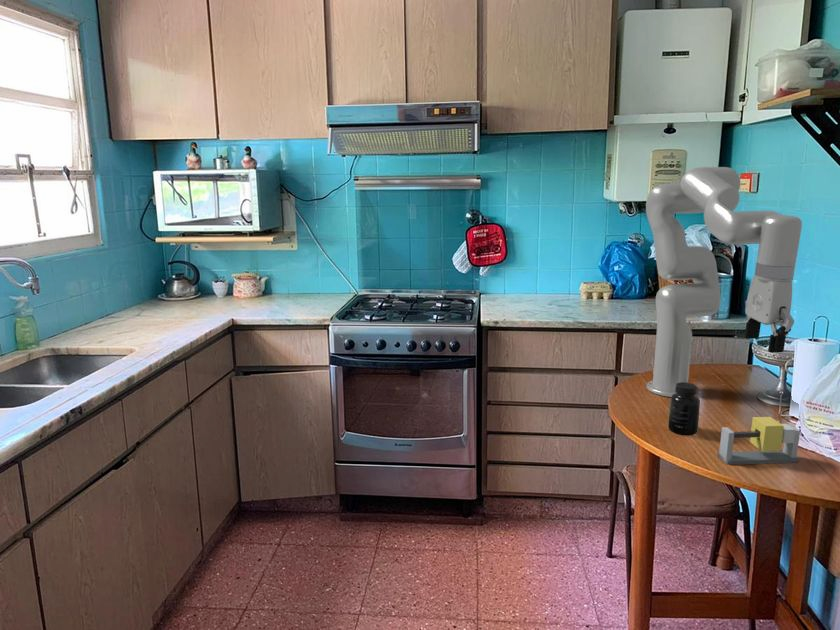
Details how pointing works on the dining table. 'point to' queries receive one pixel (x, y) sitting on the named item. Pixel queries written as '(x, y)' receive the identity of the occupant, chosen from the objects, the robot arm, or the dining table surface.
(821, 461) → the dining table surface
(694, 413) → the supplement bottle
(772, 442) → the olive yellow cube
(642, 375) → the dining table surface
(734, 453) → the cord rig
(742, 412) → the dining table surface
